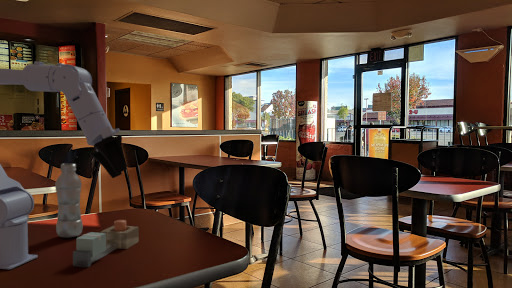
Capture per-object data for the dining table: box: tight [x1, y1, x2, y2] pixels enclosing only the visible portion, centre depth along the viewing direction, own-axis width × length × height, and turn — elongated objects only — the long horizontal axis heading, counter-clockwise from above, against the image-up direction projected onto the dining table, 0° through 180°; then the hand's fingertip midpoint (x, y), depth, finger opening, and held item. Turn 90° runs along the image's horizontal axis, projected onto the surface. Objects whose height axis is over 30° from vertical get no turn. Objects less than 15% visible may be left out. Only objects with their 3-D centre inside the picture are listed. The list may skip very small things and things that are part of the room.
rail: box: [72, 242, 119, 268], centre depth 89 cm, size 4×13×3 cm, turn 169°
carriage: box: [75, 231, 106, 257], centre depth 87 cm, size 4×5×4 cm
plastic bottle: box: [54, 162, 84, 239], centre depth 104 cm, size 6×7×20 cm
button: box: [113, 219, 127, 232], centre depth 99 cm, size 3×3×4 cm
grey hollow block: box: [100, 225, 140, 250], centre depth 99 cm, size 7×6×4 cm
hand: (119, 174), depth 83 cm, fingers open, 7 cm apart
